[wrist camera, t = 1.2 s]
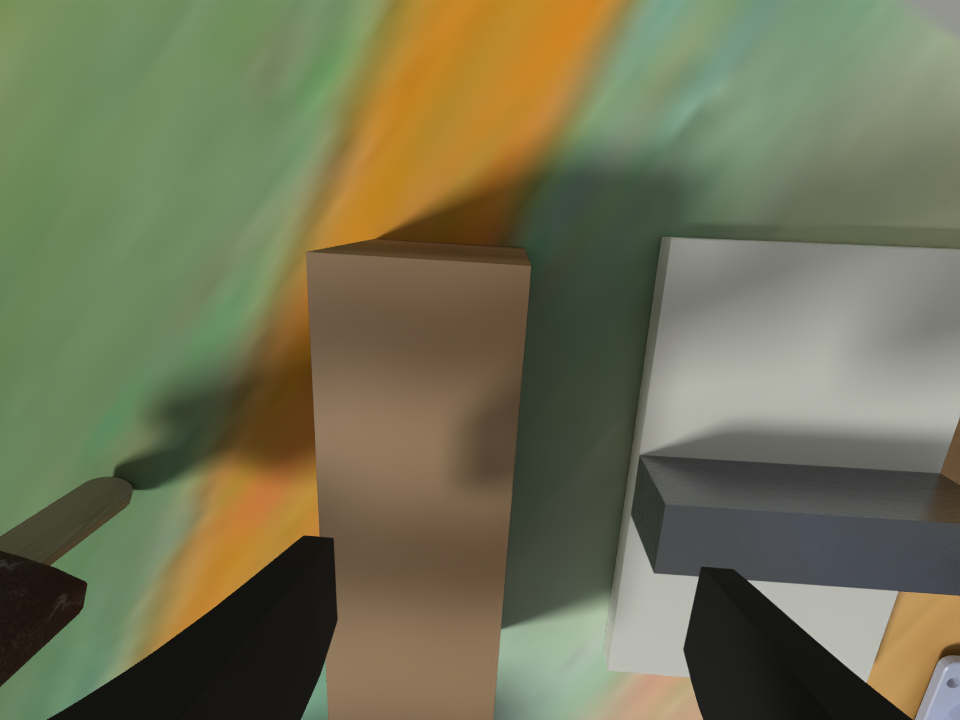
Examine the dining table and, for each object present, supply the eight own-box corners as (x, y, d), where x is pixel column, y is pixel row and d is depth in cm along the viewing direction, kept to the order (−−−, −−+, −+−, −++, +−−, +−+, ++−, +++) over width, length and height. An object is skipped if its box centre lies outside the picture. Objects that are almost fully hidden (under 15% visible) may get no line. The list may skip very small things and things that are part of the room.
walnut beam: (494, 627, 21) (487, 782, 15) (379, 616, 21) (330, 765, 16) (524, 247, 16) (531, 265, 11) (377, 238, 17) (306, 252, 11)
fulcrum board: (846, 668, 20) (925, 775, 16) (603, 649, 21) (624, 748, 17) (985, 249, 15) (1144, 262, 11) (661, 236, 16) (709, 244, 12)
